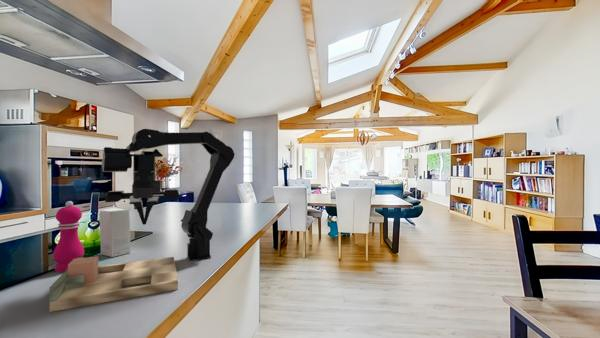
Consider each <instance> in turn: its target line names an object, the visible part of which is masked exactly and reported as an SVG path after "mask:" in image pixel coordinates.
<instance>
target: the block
mask: <svg viewBox="0 0 600 338" xmlns="http://www.w3.org/2000/svg"><path fill="white" fill-rule="evenodd" d="M98 266H99V256H88V257H81V258H78V259H73V260H72V261H71V262H70V263H69V264H68V277H71V276H78V275H84V284H88V283H94V282H95V280H96V279H97V277H98Z"/></svg>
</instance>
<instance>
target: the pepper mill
mask: <svg viewBox="0 0 600 338" xmlns="http://www.w3.org/2000/svg"><path fill="white" fill-rule="evenodd" d="M64 205H65V207H64V206H63V207H61V208H60V209H58V210H57V211H56V213H55V219H56V221H57V222H59V223H58V224H57V226H58V227H57V229H58V230H59V232H60V233H59V234H60V235H59V240H58V242H57V244H56V246H55V247H54V249H53V253H52V259H53V260H54V261H55V262H56V264H55V265H54V271H55V272H56V273H64V272H65V271H66V270H67V269H68V264H69V263H70V262H71V261H72V260H73V259H78V258H83V257H84V255H85V248H84V247H85V246H84V244H82V242H81V240H80V237H79V231H78V230H79V227H80V226H81V225H80V224H81V223H80V220H81V218H82V217H83V212H82V210H81V209H80V208H78V207H77V206H74V202H73V201H72V200H69V201H66V202H65V204H64Z"/></svg>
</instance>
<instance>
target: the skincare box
mask: <svg viewBox="0 0 600 338" xmlns="http://www.w3.org/2000/svg"><path fill="white" fill-rule="evenodd" d="M130 218H131V217H130V208H119V207H117V208H116V207H115V208H110V209H103V210H102V209H101V210H99V234H100V235H99V236H100V240H99V241H100V255H104V256H106V257H111V258H113V257H114V258H115V257H119V256H123V255H126V254H130V253H131V228H130V227H131V225H130V223H131V222H130V220H131V219H130Z"/></svg>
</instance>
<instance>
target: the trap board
mask: <svg viewBox="0 0 600 338" xmlns="http://www.w3.org/2000/svg"><path fill="white" fill-rule="evenodd" d="M178 289H179V280H178V274H177V267H176V262H175V257H174V256H170V257H164V258H163V257H162V258H154V259H148V260H147V259H146V260H145V259H144V260H139V261H138V260H137V261H131V262H123V263H115V264H113V263H112V264H107V265H98V277H97V279H96V280H95V282H94V283H88V284H84V275H78V276H71V277H68V269H67V270H66V271H65V272H62V274H61V275H60V276H59V277H58V278H57V279H56V280H55V281H54V282H53V283H52V284H51V285H50V286H49V313H51V312H57V311H62V310H68V309H73V308H74V309H75V308H80V307H86V306H91V305H97V304H102V303H108V302H112V301H113V302H114V301H121V300H125V299H131V298H136V297H143V296H147V295H148V296H149V295H153V294H159V293H160V294H161V293H165V292H171V291H175V290H178Z"/></svg>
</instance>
